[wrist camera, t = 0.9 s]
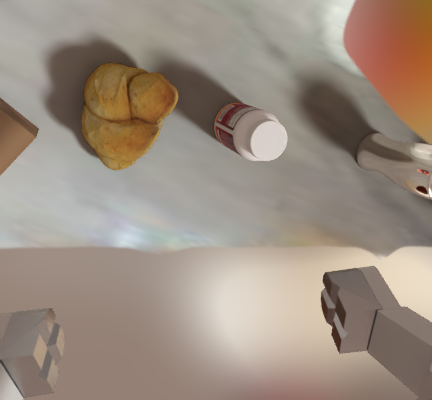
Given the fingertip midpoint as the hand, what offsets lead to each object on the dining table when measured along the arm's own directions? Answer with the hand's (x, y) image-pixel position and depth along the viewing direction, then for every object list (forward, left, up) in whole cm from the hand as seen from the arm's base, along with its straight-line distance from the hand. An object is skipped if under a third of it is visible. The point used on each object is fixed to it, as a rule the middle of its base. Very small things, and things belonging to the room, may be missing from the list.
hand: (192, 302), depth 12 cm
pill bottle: (+14, +11, -42) cm, 46 cm away
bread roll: (+2, +1, -42) cm, 42 cm away
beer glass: (+34, +25, -42) cm, 60 cm away
